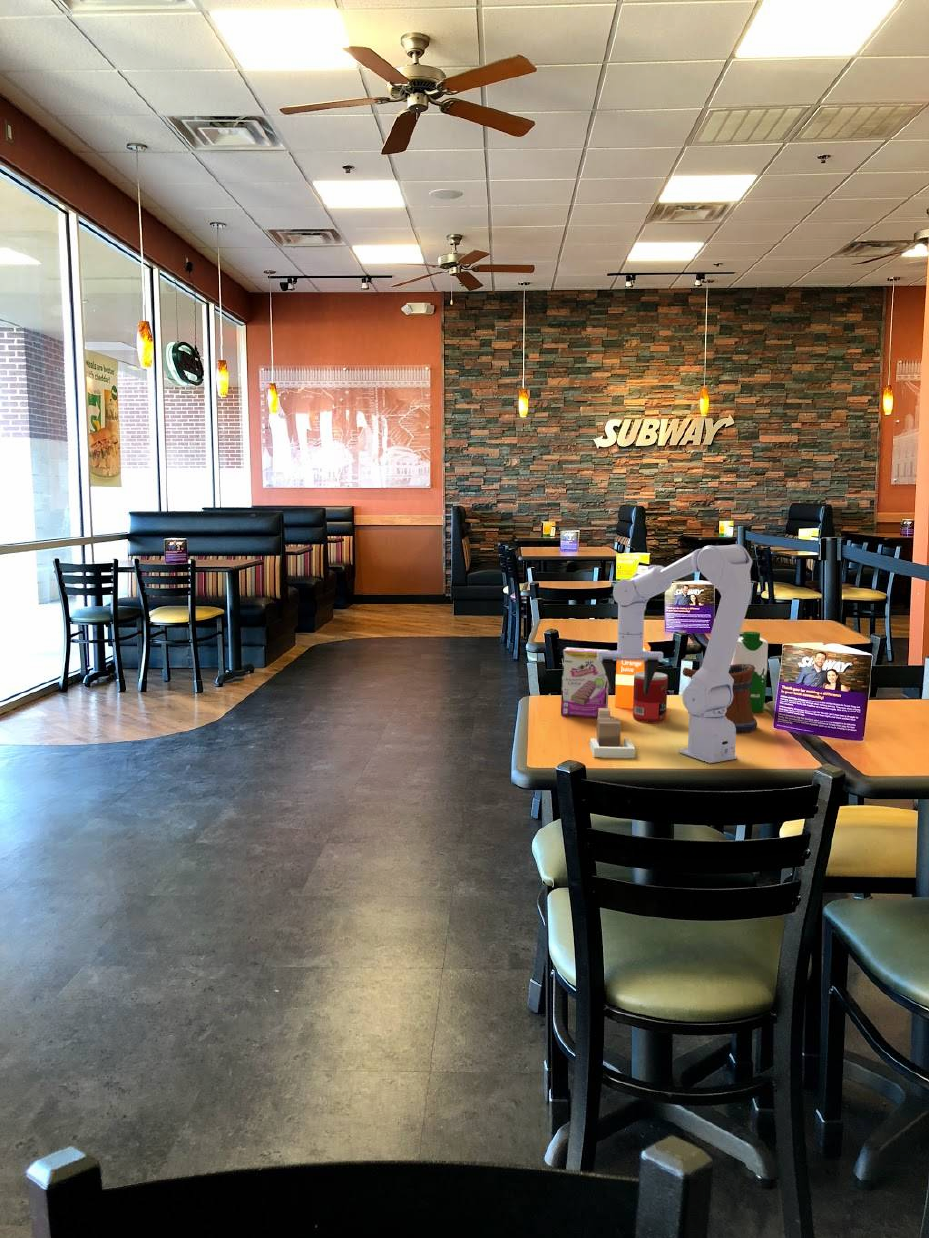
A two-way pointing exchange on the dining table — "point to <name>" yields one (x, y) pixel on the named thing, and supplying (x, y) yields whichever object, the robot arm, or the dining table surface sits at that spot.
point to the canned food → (650, 698)
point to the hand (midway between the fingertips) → (628, 692)
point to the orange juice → (627, 679)
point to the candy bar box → (583, 683)
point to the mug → (738, 697)
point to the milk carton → (754, 653)
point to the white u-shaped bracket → (612, 750)
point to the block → (608, 729)
